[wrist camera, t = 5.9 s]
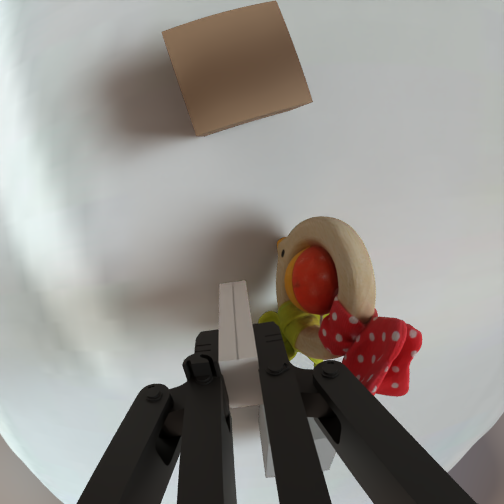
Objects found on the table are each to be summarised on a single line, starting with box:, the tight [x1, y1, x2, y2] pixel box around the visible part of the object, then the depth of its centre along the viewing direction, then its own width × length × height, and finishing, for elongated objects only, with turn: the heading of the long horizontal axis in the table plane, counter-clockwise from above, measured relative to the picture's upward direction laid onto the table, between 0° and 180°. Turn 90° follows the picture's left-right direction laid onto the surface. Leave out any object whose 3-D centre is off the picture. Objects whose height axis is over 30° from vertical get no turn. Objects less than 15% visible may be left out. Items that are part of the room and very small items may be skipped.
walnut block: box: [162, 1, 313, 136], centre depth 13 cm, size 5×5×5 cm
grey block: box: [259, 404, 336, 478], centre depth 22 cm, size 5×5×6 cm
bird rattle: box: [258, 216, 422, 396], centre depth 15 cm, size 6×11×9 cm
